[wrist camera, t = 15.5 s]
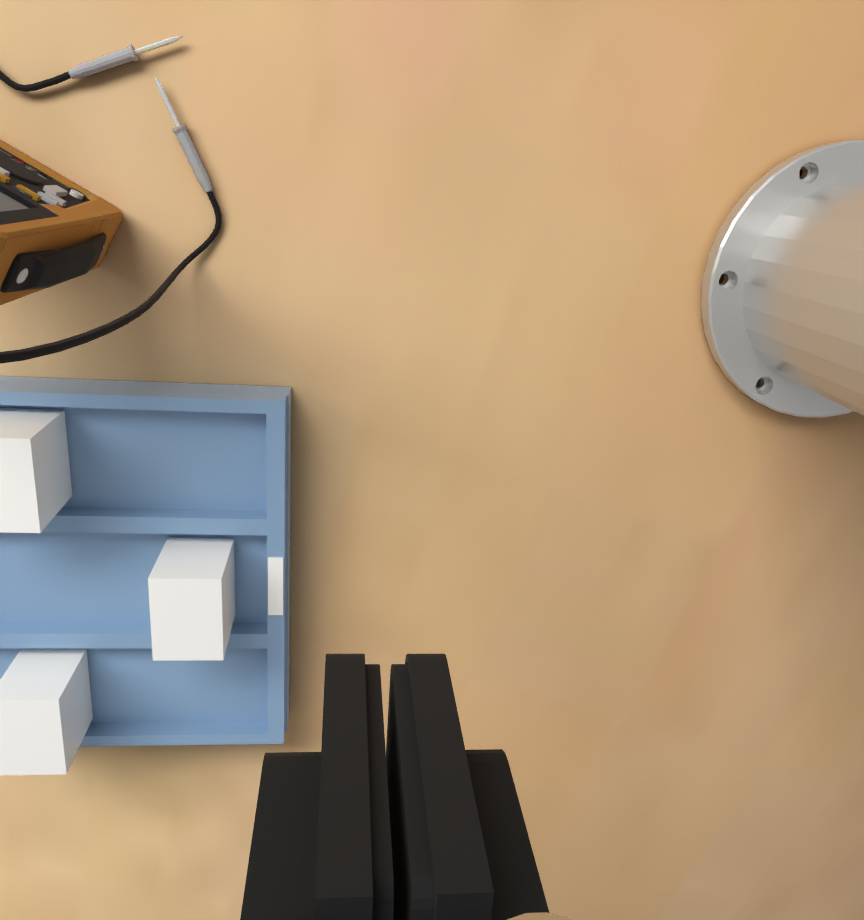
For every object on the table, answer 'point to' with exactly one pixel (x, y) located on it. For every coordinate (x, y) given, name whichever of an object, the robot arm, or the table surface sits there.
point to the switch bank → (140, 543)
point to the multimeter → (69, 217)
